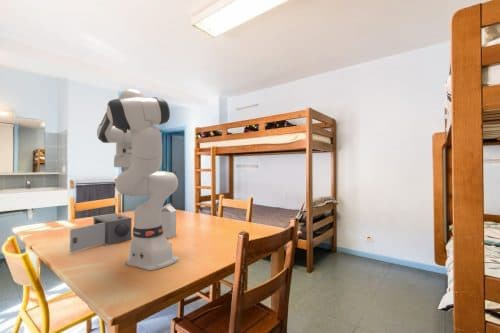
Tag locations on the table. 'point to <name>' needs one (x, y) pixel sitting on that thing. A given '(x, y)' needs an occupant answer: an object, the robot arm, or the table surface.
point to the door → (88, 236)
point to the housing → (115, 227)
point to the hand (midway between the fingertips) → (125, 175)
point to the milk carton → (168, 221)
